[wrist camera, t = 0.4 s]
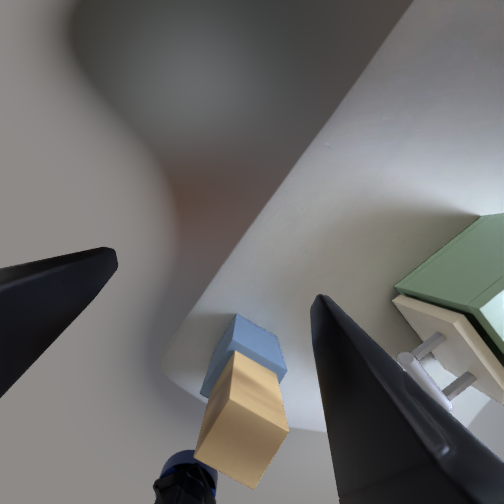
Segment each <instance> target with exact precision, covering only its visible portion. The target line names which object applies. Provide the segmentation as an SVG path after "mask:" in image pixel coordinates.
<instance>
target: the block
mask: <svg viewBox="0 0 504 504" xmlns="http://www.w3.org/2000/svg"><path fill="white" fill-rule="evenodd" d="M288 433H289V428H288V424H287V419H286V415H285V410H284V406H283V401H282V397H281V392H280V388H279V383H278V379H277V374H276V373H274V372H272V371H271V370H269V369H267V368H265V367H264V366H262V365H260V364H258V363H257V362H255V361H253V360H251V359H250V358H248V357H246V356H244V355H243V354H241V353H239V352H237V351H234V353H233V355H232V356H231V358H230V360H229V361H228V363H227V365H226V366H225V368H224V370H223V371H222V373H221V375H220V376H219V378H218V380H217V381H216V383H215V385H214V386H213V388H212V390H211V392H210V396H209V400H208V403H207V407H206V411H205V415H204V419H203V423H202V426H201V430H200V434H199V438H198V442H197V446H196V450H195V453H194V458H195V459H197V460H199V461H201V462H203V463H205V464H207V465H208V466H210V467H212V468H214V469H216V470H218V471H219V472H221V473H223V474H225V475H227V476H229V477H230V478H232V479H234V480H236V481H238V482H240V483H241V484H243V485H245V486H247V487H249V488H251V489H253V490H254V489H255V487H256V485H257V484H258V482H259V481H260V479H261V477H262V476H263V474H264V472H265V471H266V469H267V467H268V466H269V464H270V463H271V461H272V459H273V458H274V456H275V454H276V452H277V451H278V449H279V448H280V446H281V444H282V443H283V441H284V440H285V438H286V436H287V434H288Z"/></svg>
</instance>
